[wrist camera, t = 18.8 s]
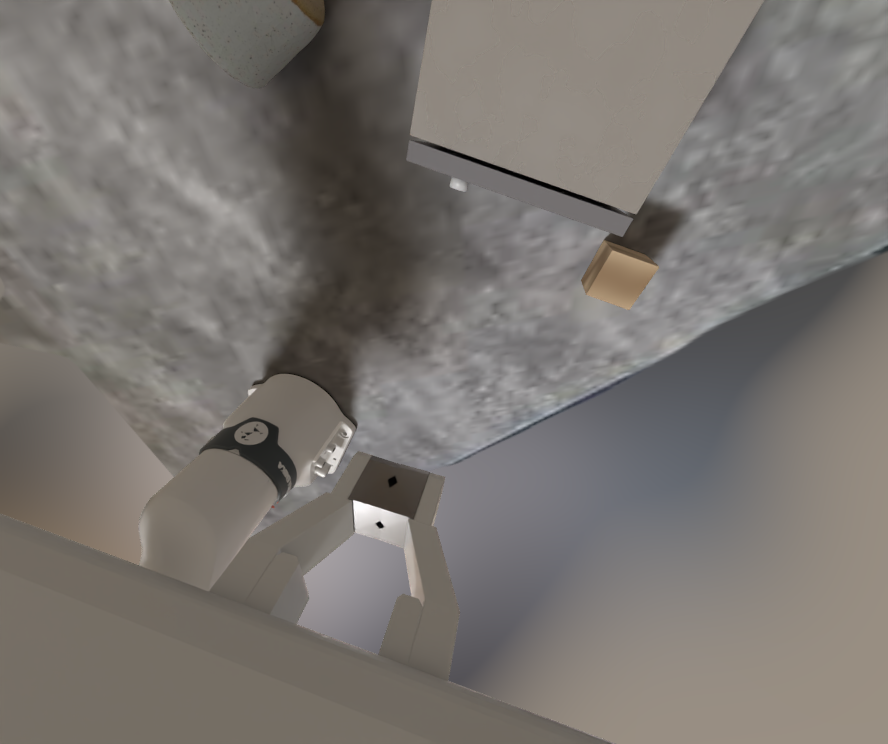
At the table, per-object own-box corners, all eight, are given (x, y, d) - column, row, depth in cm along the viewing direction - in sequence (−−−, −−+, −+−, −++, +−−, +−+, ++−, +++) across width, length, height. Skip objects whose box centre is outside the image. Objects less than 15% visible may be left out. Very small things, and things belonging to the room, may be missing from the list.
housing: (612, 200, 27) (636, 214, 21) (439, 140, 28) (409, 134, 21) (750, -54, 19) (861, -163, 12) (497, -135, 19) (478, -279, 13)
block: (619, 294, 31) (629, 310, 28) (581, 280, 31) (586, 294, 28) (645, 254, 29) (659, 267, 26) (603, 239, 29) (612, 250, 26)
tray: (597, 230, 28) (613, 251, 22) (431, 172, 29) (403, 176, 23) (732, -19, 19) (822, -100, 13) (488, -98, 20) (467, -210, 14)
